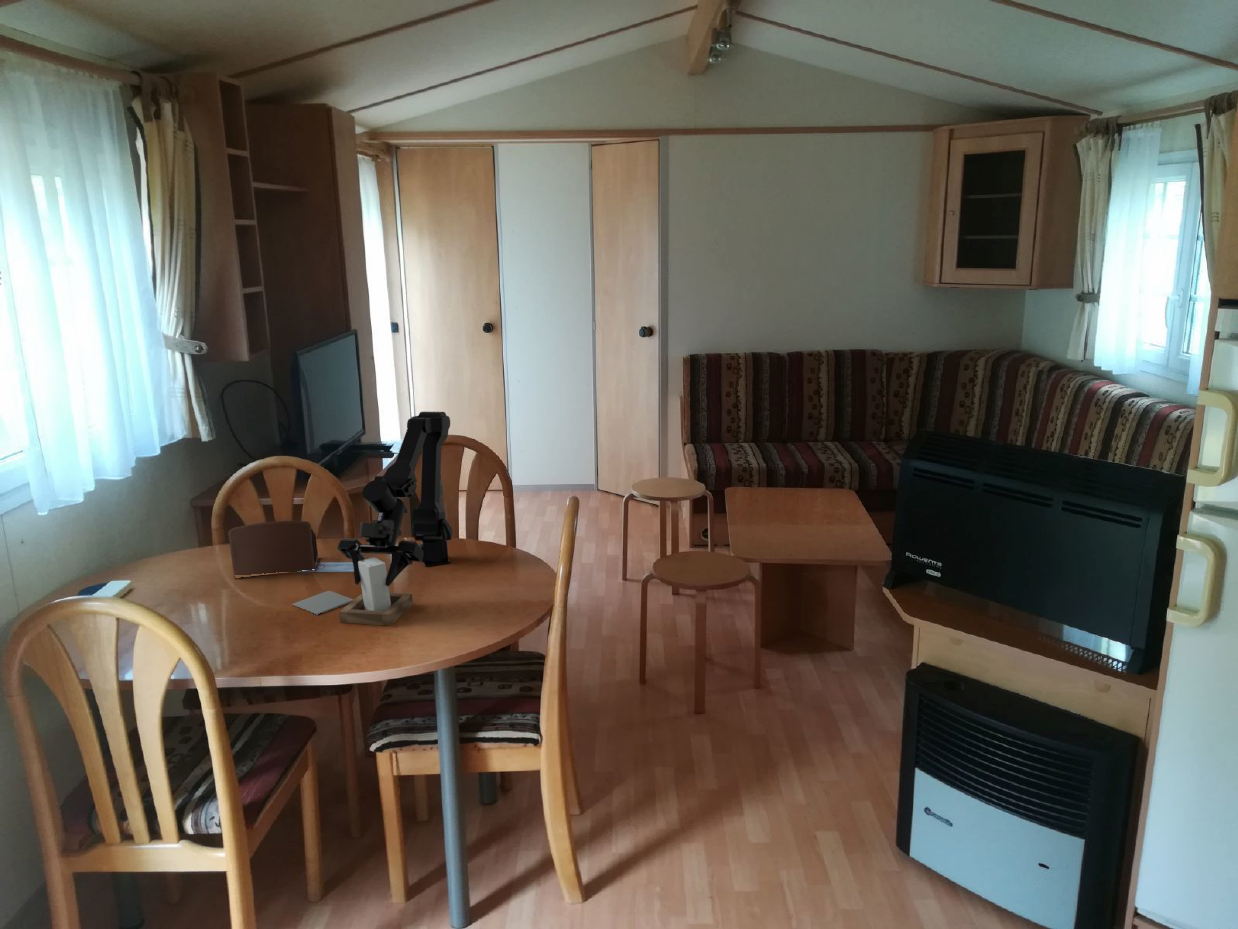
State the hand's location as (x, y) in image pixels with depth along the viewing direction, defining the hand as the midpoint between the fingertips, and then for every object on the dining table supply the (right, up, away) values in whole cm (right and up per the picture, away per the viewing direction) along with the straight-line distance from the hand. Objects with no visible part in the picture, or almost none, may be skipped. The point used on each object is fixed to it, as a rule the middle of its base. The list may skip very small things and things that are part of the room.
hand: (371, 584), depth 203 cm
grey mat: (-14, -6, +10) cm, 18 cm away
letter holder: (-34, -1, +34) cm, 48 cm away
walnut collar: (0, -7, +3) cm, 7 cm away
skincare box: (+1, -7, +3) cm, 7 cm away
